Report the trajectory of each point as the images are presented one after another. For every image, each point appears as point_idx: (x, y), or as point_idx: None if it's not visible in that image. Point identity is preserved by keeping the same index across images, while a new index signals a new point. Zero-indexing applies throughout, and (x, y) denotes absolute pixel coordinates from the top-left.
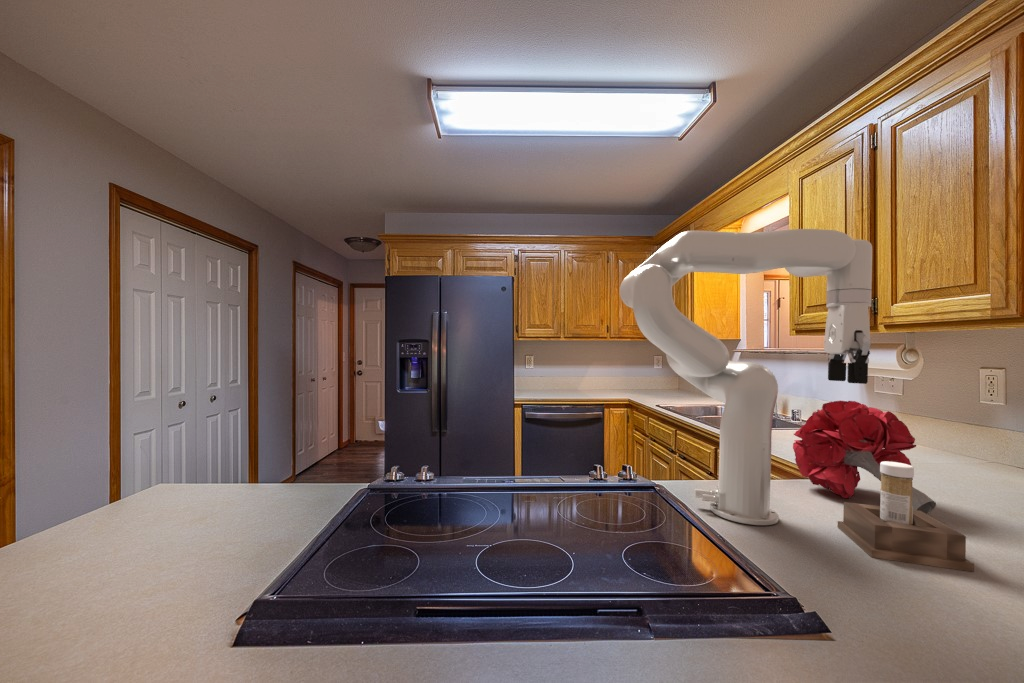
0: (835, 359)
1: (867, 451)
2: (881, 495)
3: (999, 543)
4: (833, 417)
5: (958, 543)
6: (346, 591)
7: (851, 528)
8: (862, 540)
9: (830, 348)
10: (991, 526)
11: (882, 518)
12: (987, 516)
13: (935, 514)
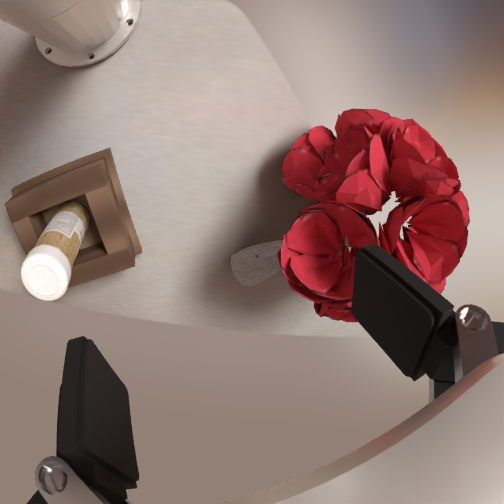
0: (448, 356)
1: (345, 241)
2: (50, 227)
3: (188, 315)
4: (401, 208)
5: None
6: None
7: (75, 167)
8: (38, 180)
9: (396, 492)
10: (257, 317)
11: (56, 214)
12: (299, 318)
13: (277, 276)
